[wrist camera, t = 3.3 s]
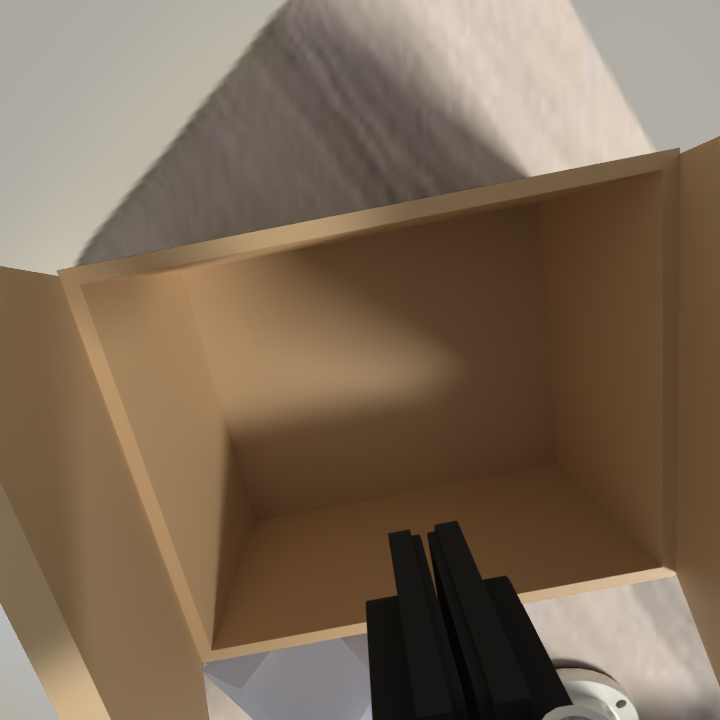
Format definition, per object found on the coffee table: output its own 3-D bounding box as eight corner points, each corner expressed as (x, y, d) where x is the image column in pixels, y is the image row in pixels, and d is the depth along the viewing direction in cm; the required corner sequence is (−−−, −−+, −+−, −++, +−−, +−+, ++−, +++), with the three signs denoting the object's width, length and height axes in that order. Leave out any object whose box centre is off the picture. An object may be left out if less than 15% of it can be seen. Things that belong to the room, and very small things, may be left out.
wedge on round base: (215, 625, 31) (318, 727, 34) (180, 725, 24) (312, 840, 27) (312, 564, 30) (410, 675, 33) (303, 652, 23) (426, 780, 26)
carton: (562, 465, 28) (675, 575, 19) (250, 524, 29) (202, 663, 19) (543, 191, 24) (679, 147, 14) (172, 264, 24) (56, 270, 14)
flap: (248, 1016, 10) (218, 1044, 9) (201, 660, 19) (185, 668, 19) (-110, 248, 5) (-189, 257, 5) (58, 276, 14) (35, 280, 14)
